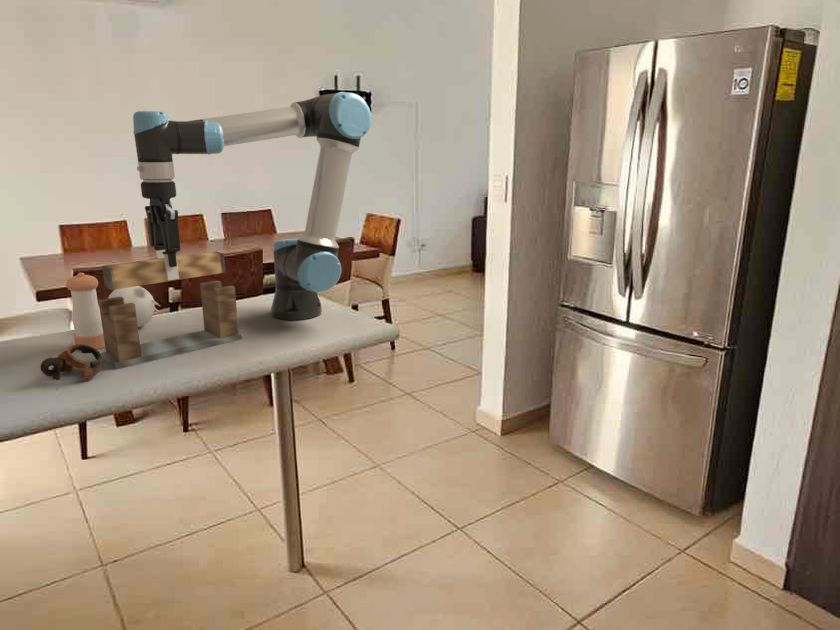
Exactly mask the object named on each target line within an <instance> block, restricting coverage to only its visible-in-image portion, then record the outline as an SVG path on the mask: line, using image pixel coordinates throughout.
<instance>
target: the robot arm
mask: <svg viewBox="0 0 840 630" xmlns="http://www.w3.org/2000/svg"><path fill="white" fill-rule="evenodd" d="M132 121H133V135H134V142H135V149H136V157H137V165H138V166H136V171H138V172H139V173H138V174H139V179H140V180H142V181H141V183H140V191H141V196H142V198H143V199H147V200H148V199H149V205H146V206H144V209H145V212H146V213H145V214H146V218H147V219H146V220H147V225H148V232H149V233H148V234H149V240H150V246H151V247H153V248H154V251H155V255H156V259H160V258H164V260H165V268H166V277H167V280H168V281H167V282H170V281H169V280H173V281H176V280H175V279H179V273H178V264H177V256H178V255H177V253H178V252H180V251H181V241H180V240H181V239H180V231H179V211H178V210H177V209H173V206H172V202H171V199H173V198H176V196H177V187H176V182H175V181H173V180H174V179H175V177H176V176H175V174H176V173H175V167H174V160H173V155H214V154H221V153H222V152H223V150H224V148H225V147H230V146H233V145H234V146H235V145H243V144H246V143H252V142H259V141H265V140H271V139H279V138H284V137H290V136H296V137H297V138H300V139H301V138H312V137H313V138H314V137H315V138H316V141H317V142H318V144H319V146H320V148H319V154H318V159H317V165H316V170H315V175H314V181H313V186H312V191H311V196H310V202H309V207H308V212H307V213H308V214H307V218H306V224H305V229H304V233H303V234H302V235H300V236H298V237H295V238H286V239H277V240H275V241H274V243H273V251H272V254H273V265H274V279H275V291H274V292H275V293H274V296H273V300H272V302H271V303H272V304H271V307H270V309H271V310H270V311H271V316H272V317H273V318H275V319H279V320H286V321H287V320H288V321H299V320H300V321H301V320H308V319H313V318H315V316H316V317H318V316H320V315H322V313H321V312H322V310H323V309H322V303H321V301H320V298H319V296H318V295H319V294H318V293H323V292H327V291H329V290H330V289H331V288H333V287H334V286H336V285H337V283H338V282H339V281H340V279H341V275H342V264H341V262H340V260H339V258H338V254H339V248H340V245H338V243H337V241H336V236H337V231H338V226H339V222H340V221H339V220H340V216H341V211H342V205H343V200H344V195H345V191H346V185H347V181H348V175H349V170H350V167H351V166H350V165H351V160H352V155H353V154H354V153H356V152H357V151H358V150H359V149H360V145H361V144H360V143H361V138H362V137H364V136H365V135H366V134H367V133H368V131H370V128H371V124H372V113H371V109H370V107H369V106H368V103H367V102H366V101H365V100H364V99H363V97H361V96H360V95H358V94H357V93H354V92H345V91H340V92H337V93H326V94H322V95H321V94H320V95H318V96H316V97H313V98H312V97H311V98H308V99H305V100H301V101H294V102H291V103H290V105H289V106H288V107H287V106H285V107H279V108H273V109H272V108H271V109H265V110H257V111H251V112H241V113H236V114H228V115H222V116H214V117H209V118H208V117H207V118H206V117H205V118H201V119H193V120H184V121H183V120H181V121H179V120H177V121H176V120H170V118H169V114H168V113H167V112H165V111H152V110H151V111H150V110H149V111H148V110H142V111H141V110H139V111H136V112H134V113H133V116H132ZM319 314H320V315H319ZM312 317H313V318H312Z"/></svg>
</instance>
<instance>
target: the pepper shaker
mask: <svg viewBox="0 0 840 630" xmlns="http://www.w3.org/2000/svg"><path fill="white" fill-rule="evenodd" d="M65 286H66V288H67V289H68V291H70V293H71V301H72V322H73V323H72V324H73V329H74V335H73V338H74V339H73V340H74V345H79V344H81V345H87V346H90V347H93V348H95V349H96V350H99V349H102V348H105V342H104V335H103V328H102V322H101V315H100V308H99V302H98V295H97V290H96V289H97V288H98V286H99V280H98V279H97V278H96V277H95V276H92V275H90V274H85V273H84V272H78V273H77V275H74V276H72V277H70V278H68V279H67V281H66V283H65Z"/></svg>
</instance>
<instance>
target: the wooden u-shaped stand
mask: <svg viewBox="0 0 840 630" xmlns="http://www.w3.org/2000/svg"><path fill="white" fill-rule="evenodd" d="M199 287H200V298H201V299H200V300H201V306H202V318H203V319H202V320H203V330H199V331H195V332H194V331H193V332H189V333H186V334H180V335H175V336H172V337H167V338H161V339H158V340H153V341H147V342H143V343H141V341H140V333H139V328H138V324H137V316H136V309H135V304H133V303H127V304H124V299H123V298H122V297H121V296H120V297H114V298H108V297H107V298H103V299H97V301H98V306H99V309H100V315H101V322H102V328H103V335H104V342H105V347H104V349H105V351H102V352H101V356H102V359H103V360H104V361H105V362H107V363H108V364H109V365H110V366H111V367H113V368H114V369H116V370H117V369H122V368H127V367H131V366H135V365H138V364H144V363H148V362H151V361H156V360H160V359H164V358H168V357H173V356H176V355H181V354H184V353H185V354H186V353H189V352H193V351H197V350H203V349H206V348H209V347H210V348H211V347H214V346H218V345H223V344H226V343H227V344H228V343H231V342H232V343H233V342H235V341H239V340H243V333H242V332H239V323H238V309H237V299H236V298H237V297H236V296H237V295H236V287H235V286H233V285H227V286H222V281H220V280H214V281H213V280H212V281H207V282H206V281H205V282H201V283H199Z"/></svg>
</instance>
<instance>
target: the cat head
mask: <svg viewBox="0 0 840 630" xmlns="http://www.w3.org/2000/svg"><path fill="white" fill-rule="evenodd" d="M120 296H121V297H122V298H123V299H124V304H127V303H133V304H135V309H136V316H137V324H138V329H139V328H141V327H143V326H145V325H147V324H148V323H149V322H150V320H152V318H153V316H154V314H155V312H156V311H157V312H158V313H160V314H161V315H163V313H162V312H161V311H160V310H158V309H157V308H156V305H157V306H159V307H161V305H160V304H159V302H157V301H155V299H154V297H153V295H152V293H150V292H149V291H148V290H147V289H145V288H144V287H143V286H134V287H128V288H121V289H115V290H112V292H111V293H110V294H109V296H108V297H107V299H108V298H114V297H120Z"/></svg>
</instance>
